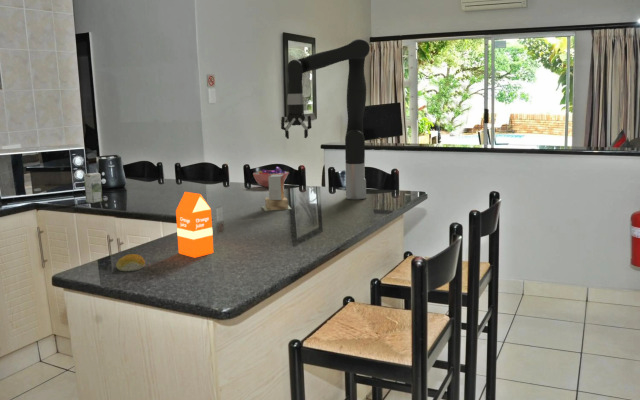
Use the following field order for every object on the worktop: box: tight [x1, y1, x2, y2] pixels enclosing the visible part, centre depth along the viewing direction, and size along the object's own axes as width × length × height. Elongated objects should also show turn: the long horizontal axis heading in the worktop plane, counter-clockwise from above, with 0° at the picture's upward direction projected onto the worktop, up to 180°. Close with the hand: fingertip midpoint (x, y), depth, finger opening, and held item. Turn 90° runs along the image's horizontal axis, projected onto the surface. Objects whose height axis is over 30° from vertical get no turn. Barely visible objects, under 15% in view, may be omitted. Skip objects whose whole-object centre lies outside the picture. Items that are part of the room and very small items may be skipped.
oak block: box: [264, 196, 289, 211], centre depth 263 cm, size 9×9×4 cm
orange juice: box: [175, 191, 214, 259], centre depth 190 cm, size 8×9×20 cm
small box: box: [268, 175, 285, 200], centre depth 262 cm, size 8×6×10 cm
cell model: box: [252, 166, 290, 188], centre depth 327 cm, size 17×20×11 cm
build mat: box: [261, 204, 292, 212], centre depth 263 cm, size 12×10×1 cm
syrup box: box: [83, 172, 103, 204], centre depth 291 cm, size 6×6×14 cm
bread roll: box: [115, 253, 146, 272], centre depth 177 cm, size 8×9×4 cm
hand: (296, 138), depth 277 cm, fingers open, 8 cm apart
